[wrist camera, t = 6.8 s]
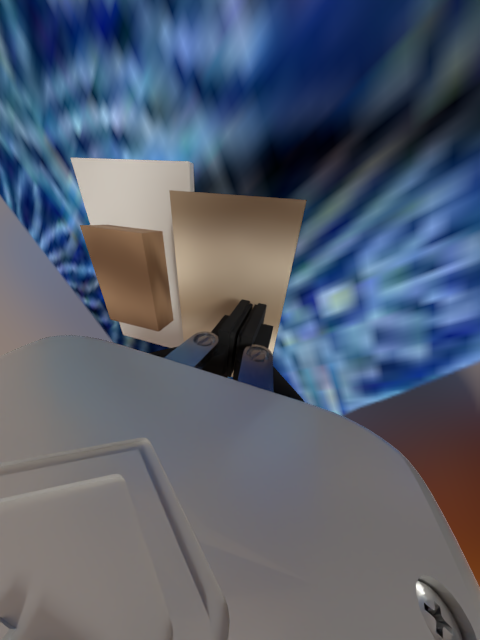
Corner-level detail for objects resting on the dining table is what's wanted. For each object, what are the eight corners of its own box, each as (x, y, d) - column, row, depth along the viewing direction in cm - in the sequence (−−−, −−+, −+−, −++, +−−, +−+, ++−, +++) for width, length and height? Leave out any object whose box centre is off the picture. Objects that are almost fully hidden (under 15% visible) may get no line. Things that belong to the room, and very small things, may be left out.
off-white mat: (77, 159, 16) (70, 157, 15) (193, 163, 13) (188, 161, 13) (126, 332, 25) (123, 334, 24) (200, 352, 23) (198, 355, 22)
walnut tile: (141, 233, 14) (162, 231, 16) (79, 225, 15) (107, 224, 17) (158, 331, 18) (173, 320, 20) (110, 319, 20) (129, 309, 22)
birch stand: (200, 196, 14) (169, 190, 11) (305, 204, 13) (306, 199, 9) (203, 340, 21) (185, 362, 18) (271, 357, 20) (265, 386, 16)
